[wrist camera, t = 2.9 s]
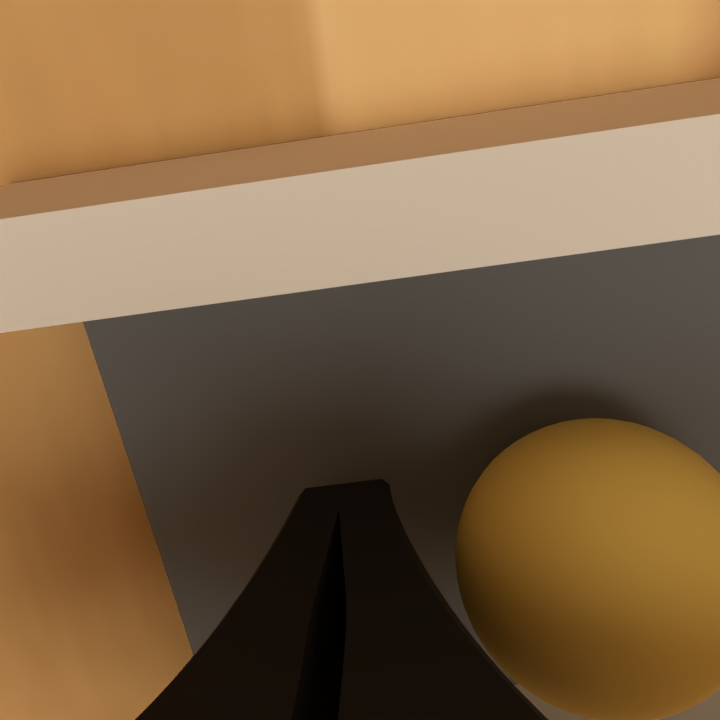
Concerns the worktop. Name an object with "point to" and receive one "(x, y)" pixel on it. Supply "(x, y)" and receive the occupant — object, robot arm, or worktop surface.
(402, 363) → the lane
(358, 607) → the robot arm
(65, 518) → the worktop surface
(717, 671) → the ball
